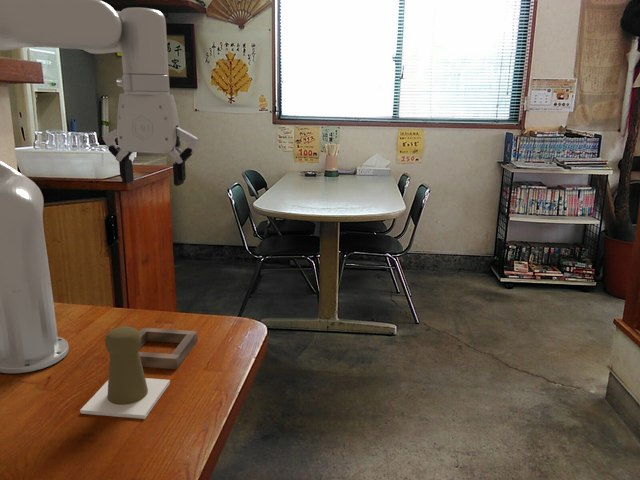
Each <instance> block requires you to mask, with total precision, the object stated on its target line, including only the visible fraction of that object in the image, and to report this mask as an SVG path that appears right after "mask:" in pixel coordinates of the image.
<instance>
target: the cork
mask: <svg viewBox="0 0 640 480" xmlns="http://www.w3.org/2000/svg"><path fill="white" fill-rule="evenodd" d="M139 331H140V330H138V329H137V328H135V327H134V326H133V327H131V326H118V327H116V328H113V329H112V330H109V331H108V332H107V334H106V336H105V339H104V346H105V348H106V350H107V352H108V353H109V360H108V362H109V364H108V379H107V381H108V396H107V398H108V400H109V401H110V402H111V403H113V404H117V405H126V404H132V403H135V402H137V401H140V400H142V399H143V398H144V397H145V396H146V395H147V393H148V388H147V384H146V380H145V378H146V377H145V372H144V368H143V367H142V363H141V359H140V354H139V352H140V351H139V350H140V349H139V350H138V348H139V347H140V344H141V335H140V333H139Z"/></svg>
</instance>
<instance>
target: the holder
mask: <svg viewBox="0 0 640 480" xmlns="http://www.w3.org/2000/svg"><path fill="white" fill-rule="evenodd" d="M138 331H139V333H140V335H141V344H140V347H139V348H138V350H141V349H142V347H143V346H144V345H145V344H146V343H147V342H156V343H157V342H159V343H160V342H161V343H170V344H171V343H173V344H178V345H177V347H176V348H175V349H174V350H173V352H172V353H163V352H162V353H160V352H159V353H158V352H145V351H139V354H140V359H141V363H142V367H145V368H154V369H155V368H156V369H157V368H158V369H168V370H170V369H171V370H178V369H179V367H180V366H181V365H182V363H183V362H184V360H185V359H186V358H187V356H188V355H189V353H190V352H191V351H192V350H193V347H194V346H195V345H196V344H197V342H198V339H199V337H198V331H196V330H182V329H171V328H169V329H167V328H155V327H152V328H151V327H142V328H141V329H140V330H138Z"/></svg>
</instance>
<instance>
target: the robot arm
mask: <svg viewBox="0 0 640 480" xmlns="http://www.w3.org/2000/svg"><path fill="white" fill-rule="evenodd" d="M167 38H168V37H167V23H166V17H165V15H164V14H163V13H162V12H161V11H160V10H158V9H154V8H148V7H125V8H123V9H122V10H121V11H120V10H115V9H114V7H112V6H111V5H110V4H108V3H107V2H105V1H103V0H0V51H10V50H12V51H13V50H17V49H22V48H53V49H68V50H69V49H72V50H83V51H85V52H88V53H89V54H94V55H95V54H97V55H99V54H110V53H121V62H122V64H121V65H122V73H123V74H121V78H119V77H118V78H116V80H115V81H116V85H117V86H118V87H121V88H122V90H123V91H124V93H119V98H118V105H117V114H116V115H117V116H116V117H117V118H116V119H117V120H116V123H117V126H116V127H117V128H114V129H112V130H111V131H110V132H108V133H106V134H104V135H103V136H102V140H103V141H104V143H105V145H106V147H107V149H108V151H109V152H110V153H111V154H112V155H113V157H114V158H115V160H116V162H118V167H119V175H120V178H121V181H122V184H125V185H126V184H129V183H131V182H134V180H135V179H134V167H133V166H134V165H133V161H132V159H130V157H131V156H132V154H133V153H146V154H147V153H148V154H150V153H151V154H166V153H168V154H169V155H170V156H171V158H172V159H173V160H174V163H173V164H172V172H173V173H172V175H173V185H174V186H177V187H178V186H182V185H183V184H184V183H185V180H186V175H187V174H186V162H188V159H189V158H190V157H191V156H192V155H193V154H195V153H194V152H195V150H196V148H197V145H198V143H199V140H200V139H199V138H198V137H197V136H195V135H193V134H191V133H190V132H188V131H186V130H184V129H182V128H181V127H180V119H179V113H178V107H177V105H176V104H177V103H176V100H175V97H174V94H170V93H171V92H170V89H171V88H170V75H169V57H168V41H167ZM116 139H117V142H116ZM181 139H182V140H183V141H185V142H186V143H187V145H186V147H185V149H184V150H182V149H181V144H182V143H181V142H182V140H181ZM116 143H117V144H118V145H117V144H116ZM44 201H45V200H44V196H43V193H42V190H41V189H40V187H39V186H38V185H37V184H36V183H35V182H34V181H33V180H32V179H30V178H29V177H28V176H26V175H24V174H23V173H21V172H19V171H18V170H16V169H15V168H13V167H11V166H10V165H8V164H6V163H5V162H3V161H2V160H0V373H2V374H3V373H4V374H25V373H31V372H35V371H38V370H42V369H46V368H47V367H51V366H53V365H55V364H56V363H58V362H60V361H61V360H62V359H64V358H65V357H66V356H67V354H68V352H69V351H70V350H69V348H70V347H69V342H68V341H67V339H65V338H63V337H61V336H58V327H57V320H56V319H57V318H56V313H55V305H54V295H53V288H52V287H53V286H52V281H51V272H50V266H49V258H48V252H47V251H48V249H47V245H46V244H47V243H46V236H45V230H44V218H43V217H44V216H43V212H44V203H45V202H44Z"/></svg>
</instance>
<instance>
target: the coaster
mask: <svg viewBox="0 0 640 480" xmlns="http://www.w3.org/2000/svg"><path fill="white" fill-rule="evenodd" d="M145 380H146V384H147V388H148V393H147V395H146V396H145V397H144V398H143V399H142V400H140V401H137V402H135V403H132V404H126V405H117V404H113V403H111V402H110V401H109V400H108V398H107V396H108V380H107V381H105V382H104V384H103V385H102V386H101V387H100V388H99V389H98V390H97V391H96V392H95V394H93V396H92V397H90V399H89V400H88V401H87V402H86V403H85V404H84V405H83V406H82V408H80V411H79V412H80V414H82V415H83V414H84V415H93V416H94V415H95V416H108V417H117V418H131V419H140V420H141V419H142V420H145V419H146V418H147V416H148V415H149V414H150V412H151V411H152V410H153V409H154V407H155V405H156V404H157V403H158V401H159V399H160V398H161V397H162V396H163V394H164V392H166V390H167V389H168V387H169V385H171V380H170V379H165V378H164V379H162V378H152V377H151V378H149V377H148V378H147V377H145Z"/></svg>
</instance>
